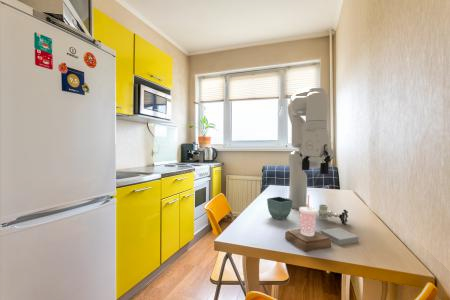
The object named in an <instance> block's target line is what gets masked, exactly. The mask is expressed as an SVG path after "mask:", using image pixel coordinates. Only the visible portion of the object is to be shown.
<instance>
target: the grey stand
mask: <svg viewBox="0 0 450 300" xmlns="http://www.w3.org/2000/svg"><path fill="white" fill-rule="evenodd" d="M320 233H321V234H323V235H324V236H326V237H328V238H329V239H330V240H331V242H333V243H335V244H336V245H339V246H343V245H349V243H350V244H354V242H355V243H359V240H360V239H359V236H358V235H356V234H353V233H352V232H349V231H347V230H345V229H343V228H341V227H333V228H325V229H320Z"/></svg>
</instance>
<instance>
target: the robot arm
mask: <svg viewBox="0 0 450 300" xmlns="http://www.w3.org/2000/svg"><path fill="white" fill-rule="evenodd" d="M328 109H329V95H328V93H327V92H326V89H325V88H324V87H303V88H299V89H298V90H297V91H296V93H294V94H293V95H292V96H291V97H290V101H289V103H288V106H287V114H288V117H289V121H290V124H291V147H292V148H294V149H295V151H292V152H290V153H289V155H288V167H289V189H288V190H289V192H288V196H287V197H285V198H286V199H290V200H293V201H292V207H291V209H295V210H296V209H297V210H299V208H300V207H308V203H307V202H308V195H307V194H308V175H307V173H306V171H310V169H320V170H319V173H320V175H328V174H329V166H330V163H331V161H332V160H333V159H334V156H335V153H336V151H335V150H334V149H333V148H331V147H330V137H329V136H330V135H329V131H328V116H329V115H328V114H329V113H328V111H329V110H328ZM303 117H305V119H304V118H303ZM296 149H297V150H298V151H297V150H296Z"/></svg>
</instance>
